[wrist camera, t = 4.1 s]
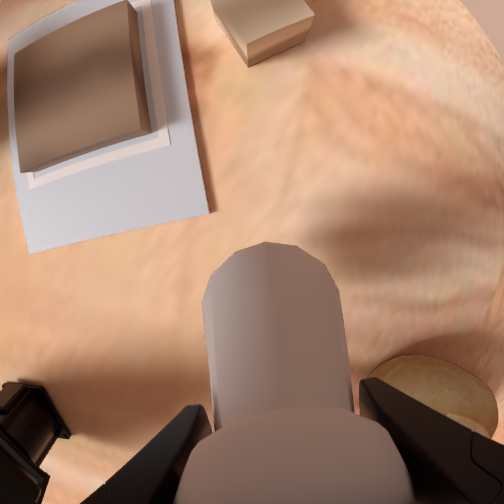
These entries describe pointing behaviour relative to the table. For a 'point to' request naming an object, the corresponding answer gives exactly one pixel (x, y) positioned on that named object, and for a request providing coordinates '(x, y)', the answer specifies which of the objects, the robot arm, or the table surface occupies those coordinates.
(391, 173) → the table surface
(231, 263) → the salt shaker
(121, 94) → the walnut base block
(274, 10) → the maple block
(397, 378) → the bread roll
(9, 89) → the white flat rectangular panel
